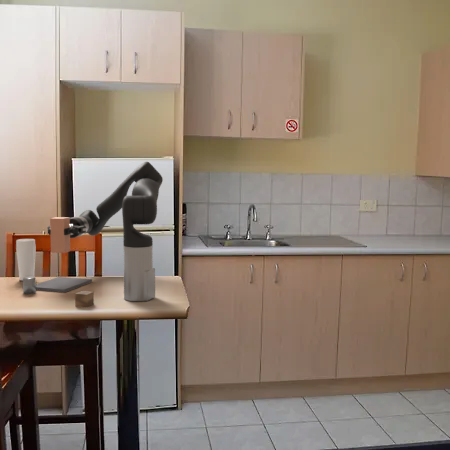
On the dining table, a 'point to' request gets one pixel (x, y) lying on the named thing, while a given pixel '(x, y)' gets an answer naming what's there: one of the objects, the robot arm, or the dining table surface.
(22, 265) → the drinking glass
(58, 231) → the terracotta block
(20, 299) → the dining table surface
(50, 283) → the charcoal mat
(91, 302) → the walnut cube
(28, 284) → the grey tin
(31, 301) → the dining table surface
